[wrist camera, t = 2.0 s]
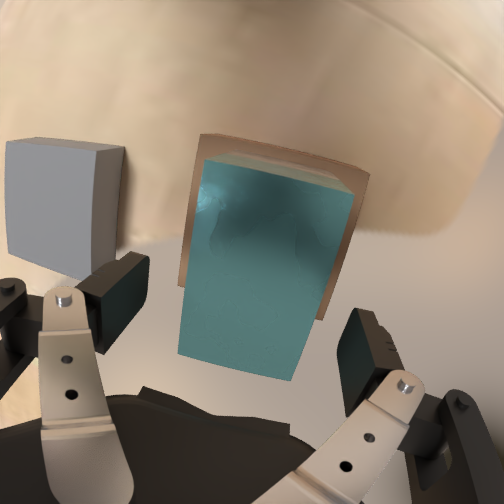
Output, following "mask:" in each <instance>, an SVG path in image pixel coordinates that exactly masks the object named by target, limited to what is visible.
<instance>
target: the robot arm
mask: <svg viewBox="0 0 504 504" xmlns="http://www.w3.org/2000/svg"><path fill="white" fill-rule="evenodd" d="M149 263H150V259H149V257H148V256H146V255H143V254H139V253H135V252H132V251H130V252H129V253H127V254H126V255H125V256H124V257H122V258H121V259H120V260H113V261H110V262H107V263H105V264H103V265H102V266H101V267H100V268H98V270H96V271H94V272H93V273H92V275H89V276H88V277H87V278H85V279H84V280H83V281H82V282H81V283H79V284H78V285H77V286H75V287H74V288H73V287H68V286H61V287H56V288H53V289H51V290H49V291H48V292H47V293H46V294H45V296H44V297H41V296H35V295H28V294H27V291H26V284H25V283H24V281H22V280H20V279H17V278H4V279H1V280H0V333H1V337H2V339H1V340H0V400H1V399H2V397H3V396H4V395H5V393H6V392H7V391H8V390H9V388H10V387H11V386H12V385H13V383H14V382H15V381H16V380H17V379H18V377H19V376H20V375H21V374H22V372H23V371H24V370H25V369H26V368H27V366H28V365H29V364H30V363H31V362H32V361H33V359H34V358H35V357H38V361H39V390H40V404H41V416H42V417H41V418H38V419H35V420H31V421H28V422H25V423H21V424H18V425H14V426H11V427H7V428H4V429H0V504H364V503H363V502H362V499H363V498H364V496H365V495H366V494H367V492H368V491H369V490H370V488H371V487H372V485H373V484H374V482H375V481H376V480H377V478H378V477H379V475H380V474H381V472H382V471H383V469H384V468H385V467H386V465H387V463H388V462H389V460H390V459H391V457H392V456H393V454H394V453H395V451H396V449H397V450H400V451H403V452H404V453H405V459H406V465H407V471H408V478H409V484H410V491H411V498H412V504H504V471H503V469H502V466H501V463H500V460H499V458H498V455H497V452H496V449H495V447H494V444H493V442H492V439H491V437H490V434H489V432H488V429H487V427H486V425H485V422H484V420H483V418H482V416H481V413H480V411H479V409H478V406H477V404H476V402H475V401H474V400H473V398H472V397H471V396H469V395H468V394H467V393H465V392H463V391H460V390H456V389H453V390H450V391H448V392H447V394H446V395H445V396H444V398H443V399H440V398H437V397H434V396H431V395H428V394H426V393H425V387H424V384H423V383H422V381H421V380H420V379H419V378H418V377H416V376H415V375H414V374H412V373H410V372H407V371H405V369H404V367H403V364H402V362H401V359H400V357H399V354H398V352H396V351H397V349H396V347H395V345H394V342H393V340H392V337H391V335H390V334H389V333H388V332H387V331H386V330H385V328H384V327H382V326H379V324H378V321H377V319H376V317H375V314H374V312H373V311H368V310H363V309H359V308H354V309H353V310H352V312H351V314H350V317H349V319H348V322H347V324H346V326H345V329H344V331H343V333H342V336H341V338H340V340H339V344H338V347H337V360H338V366H339V373H340V379H341V386H342V392H343V399H344V406H345V414H346V417H349V418H348V419H347V420H346V421H345V422H344V423H343V424H342V425H341V426H340V427H339V428H338V429H337V430H336V432H334V434H332V436H330V438H329V439H328V440H327V441H326V442H325V443H324V444H322V445H321V446H320V447H319V448H318V450H315V449H314V448H312V447H311V446H310V445H308V444H307V443H305V442H303V441H302V440H300V439H298V438H296V437H293V436H291V435H289V433H290V424H287V423H281V422H276V421H271V420H266V419H261V418H256V417H235V416H234V417H233V416H216V415H212V414H209V413H207V412H205V411H203V410H201V409H199V408H197V407H195V406H193V405H191V404H189V403H187V402H186V401H184V400H182V399H180V398H178V397H175V396H172V395H168V394H165V393H162V392H159V391H156V390H153V389H150V388H147V387H145V386H143V387H142V389H141V391H140V392H139V394H138V395H125V394H124V395H111V396H105V394H104V390H103V386H102V382H101V378H100V374H99V369H98V365H97V360H96V355H95V352H98V353H100V354H103V355H104V354H105V353H106V352H107V351H108V349H109V348H110V347H111V345H112V344H113V343H114V342H115V340H116V339H117V338H118V337H119V335H120V334H121V333H122V332H123V330H124V329H125V328H126V326H127V325H128V324H129V323H130V321H131V320H132V319H133V318H134V316H135V315H136V314H137V313H138V312H139V310H140V309H141V308H142V306H143V305H144V302H145V300H146V297H147V290H148V277H149V265H150V264H149ZM448 447H449V449H450V452H451V456H452V464H451V467H450V469H449V470H447V465H446V461H445V457H444V454H443V452H444V451H445V450H446V449H447V448H448Z"/></svg>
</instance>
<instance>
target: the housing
mask: <svg viewBox="0 0 504 504" xmlns="http://www.w3.org/2000/svg"><path fill="white" fill-rule="evenodd" d="M354 196H355V195H354V194H353V193H352V192H351V191H350V190H349V189H348V188H347V187H346V186H345V185H344V184H343V183H342V182H341V181H340V180H339V179H338V178H337V177H336V176H335V175H334V174H333V173H332V172H330V171H326V170H322V169H319V168H315V167H311V166H307V165H303V164H299V163H295V162H291V161H287V160H282V159H278V158H274V157H269V156H265V155H260V154H256V153H251V152H246V151H242V150H237V149H236V150H233V151H230V152H226V153H223V154H220V155H217V156H213V157H210V158H207V159H205V160H204V166H203V171H202V177H201V183H200V188H199V194H198V200H197V207H196V213H195V219H194V226H193V232H192V239H191V246H190V253H189V260H188V267H187V275H186V283H185V291H184V299H183V308H182V316H181V326H180V335H179V345H178V354H180V355H183V356H187V357H190V358H194V359H197V360H201V361H205V362H208V363H212V364H216V365H220V366H224V367H228V368H232V369H236V370H240V371H245V372H249V373H253V374H258V375H263V376H267V377H272V378H277V379H282V380H287V381H291V379H292V376H293V373H294V371H295V369H296V366H297V364H298V361H299V359H300V356H301V354H302V351H303V349H304V346H305V343H306V341H307V338H308V335H309V333H310V330H311V327H312V325H313V322H314V319H315V317H316V314H317V311H318V308H319V306H320V303H321V300H322V297H323V294H324V291H325V289H326V286H327V283H328V280H329V277H330V274H331V271H332V268H333V265H334V262H335V259H336V256H337V253H338V249H339V246H340V243H341V240H342V237H343V233H344V230H345V227H346V224H347V220H348V217H349V214H350V210H351V207H352V203H353V200H354Z"/></svg>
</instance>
